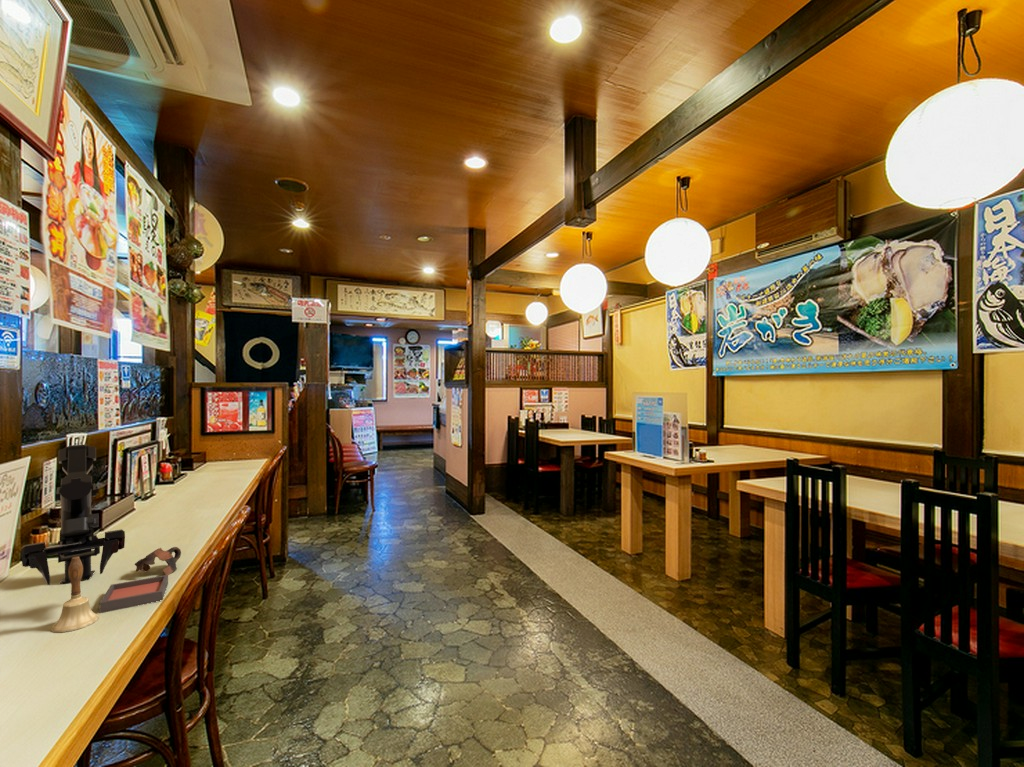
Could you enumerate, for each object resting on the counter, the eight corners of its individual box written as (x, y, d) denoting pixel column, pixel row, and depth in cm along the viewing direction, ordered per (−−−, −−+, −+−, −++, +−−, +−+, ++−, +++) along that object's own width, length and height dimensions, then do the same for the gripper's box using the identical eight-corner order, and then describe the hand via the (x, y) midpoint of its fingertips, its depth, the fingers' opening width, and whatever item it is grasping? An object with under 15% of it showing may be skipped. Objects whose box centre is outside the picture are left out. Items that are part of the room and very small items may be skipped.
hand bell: (107, 617, 115) (107, 552, 115) (69, 634, 107) (68, 564, 107) (81, 613, 117) (81, 549, 117) (41, 630, 109) (41, 562, 109)
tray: (111, 593, 128) (110, 584, 128) (168, 583, 134) (168, 574, 134) (99, 613, 117) (99, 603, 117) (162, 600, 123) (162, 591, 123)
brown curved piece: (160, 581, 136) (143, 559, 135) (140, 592, 139) (123, 569, 138) (194, 557, 148) (179, 535, 147) (176, 566, 151) (161, 546, 150)
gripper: (21, 511, 110) (16, 571, 102) (124, 498, 123) (126, 551, 114) (25, 537, 116) (20, 596, 108) (123, 522, 128) (125, 574, 120)
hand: (75, 578), depth 112 cm, fingers open, 9 cm apart
